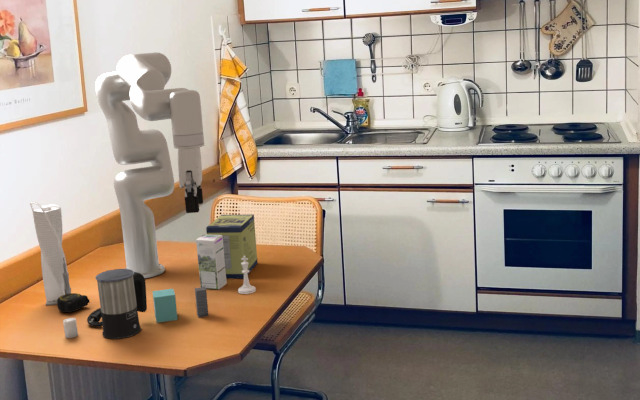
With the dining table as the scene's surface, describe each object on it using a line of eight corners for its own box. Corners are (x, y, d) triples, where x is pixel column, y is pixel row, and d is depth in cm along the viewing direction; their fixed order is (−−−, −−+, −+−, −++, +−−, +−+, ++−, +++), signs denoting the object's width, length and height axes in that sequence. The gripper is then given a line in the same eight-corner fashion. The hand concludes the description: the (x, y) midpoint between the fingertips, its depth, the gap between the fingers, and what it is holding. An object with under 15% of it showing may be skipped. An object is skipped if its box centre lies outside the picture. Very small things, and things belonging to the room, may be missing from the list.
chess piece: (253, 294, 220) (250, 258, 218) (235, 293, 221) (232, 258, 219) (258, 288, 225) (255, 253, 223) (241, 288, 226) (238, 253, 224)
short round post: (65, 334, 199) (63, 319, 198) (78, 332, 199) (76, 317, 199) (65, 338, 196) (62, 323, 195) (77, 337, 197) (75, 321, 196)
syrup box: (227, 283, 231) (223, 234, 227) (218, 290, 225) (213, 239, 222) (209, 282, 233) (204, 233, 229) (199, 289, 227) (195, 239, 224)
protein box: (258, 263, 249) (254, 213, 245) (244, 279, 234) (240, 226, 230) (225, 263, 251) (221, 214, 247) (209, 279, 236) (205, 227, 232)
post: (197, 314, 208) (194, 288, 206) (207, 312, 208) (204, 286, 207) (198, 317, 205) (195, 291, 204) (208, 316, 206) (206, 289, 204)
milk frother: (131, 340, 193) (125, 280, 190) (70, 339, 196) (62, 280, 192) (154, 318, 206) (148, 262, 203) (95, 317, 209) (89, 262, 206)
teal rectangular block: (155, 315, 208) (152, 291, 207) (175, 312, 209) (173, 288, 208) (156, 322, 203) (154, 297, 202) (177, 319, 204) (175, 294, 203)
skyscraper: (40, 306, 220) (26, 205, 214) (45, 296, 228) (32, 199, 222) (72, 302, 222) (59, 202, 216) (76, 293, 229) (63, 196, 223)
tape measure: (70, 316, 212) (68, 302, 211) (52, 312, 216) (51, 298, 215) (90, 307, 217) (88, 294, 217) (73, 304, 221) (71, 291, 220)
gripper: (177, 137, 210) (184, 201, 214) (168, 146, 193) (175, 217, 197) (207, 135, 210) (212, 199, 214) (200, 144, 193) (206, 214, 197)
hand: (194, 208), depth 205 cm, fingers open, 9 cm apart
